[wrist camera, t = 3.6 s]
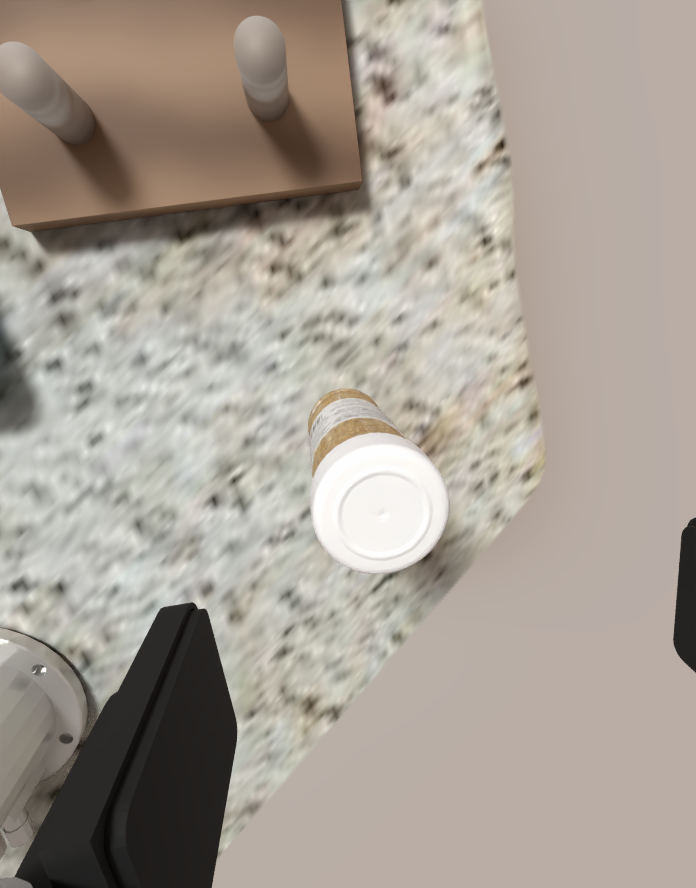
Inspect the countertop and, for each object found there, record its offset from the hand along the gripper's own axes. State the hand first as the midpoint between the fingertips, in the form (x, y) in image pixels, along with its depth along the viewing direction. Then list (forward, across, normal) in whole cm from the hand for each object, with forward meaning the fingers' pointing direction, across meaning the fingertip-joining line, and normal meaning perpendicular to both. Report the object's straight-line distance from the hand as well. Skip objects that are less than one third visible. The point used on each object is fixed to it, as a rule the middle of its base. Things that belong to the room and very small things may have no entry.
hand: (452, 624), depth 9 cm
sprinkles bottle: (+19, +1, 0) cm, 19 cm away
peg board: (+19, +7, -21) cm, 29 cm away
